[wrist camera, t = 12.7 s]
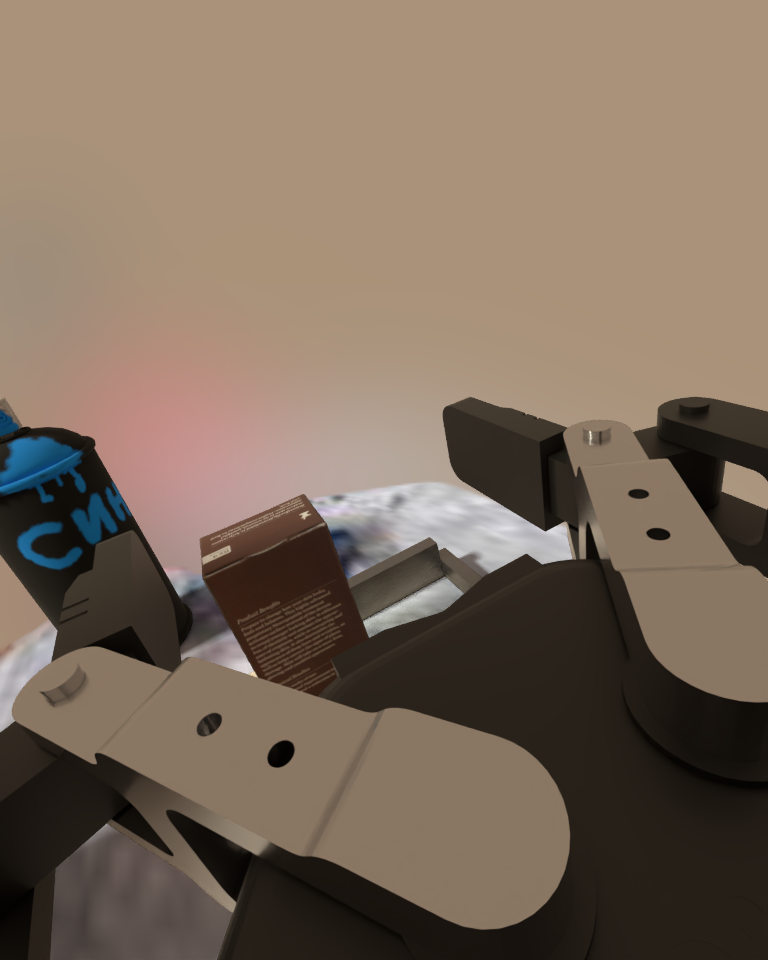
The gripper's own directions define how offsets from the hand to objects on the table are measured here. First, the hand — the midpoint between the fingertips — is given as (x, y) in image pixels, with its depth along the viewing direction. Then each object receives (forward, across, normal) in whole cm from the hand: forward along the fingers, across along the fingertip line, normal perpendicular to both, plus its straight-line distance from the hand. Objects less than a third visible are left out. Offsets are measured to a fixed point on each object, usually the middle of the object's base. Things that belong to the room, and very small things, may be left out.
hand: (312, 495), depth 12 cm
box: (+10, +1, +18) cm, 21 cm away
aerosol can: (+25, +12, +19) cm, 34 cm away
